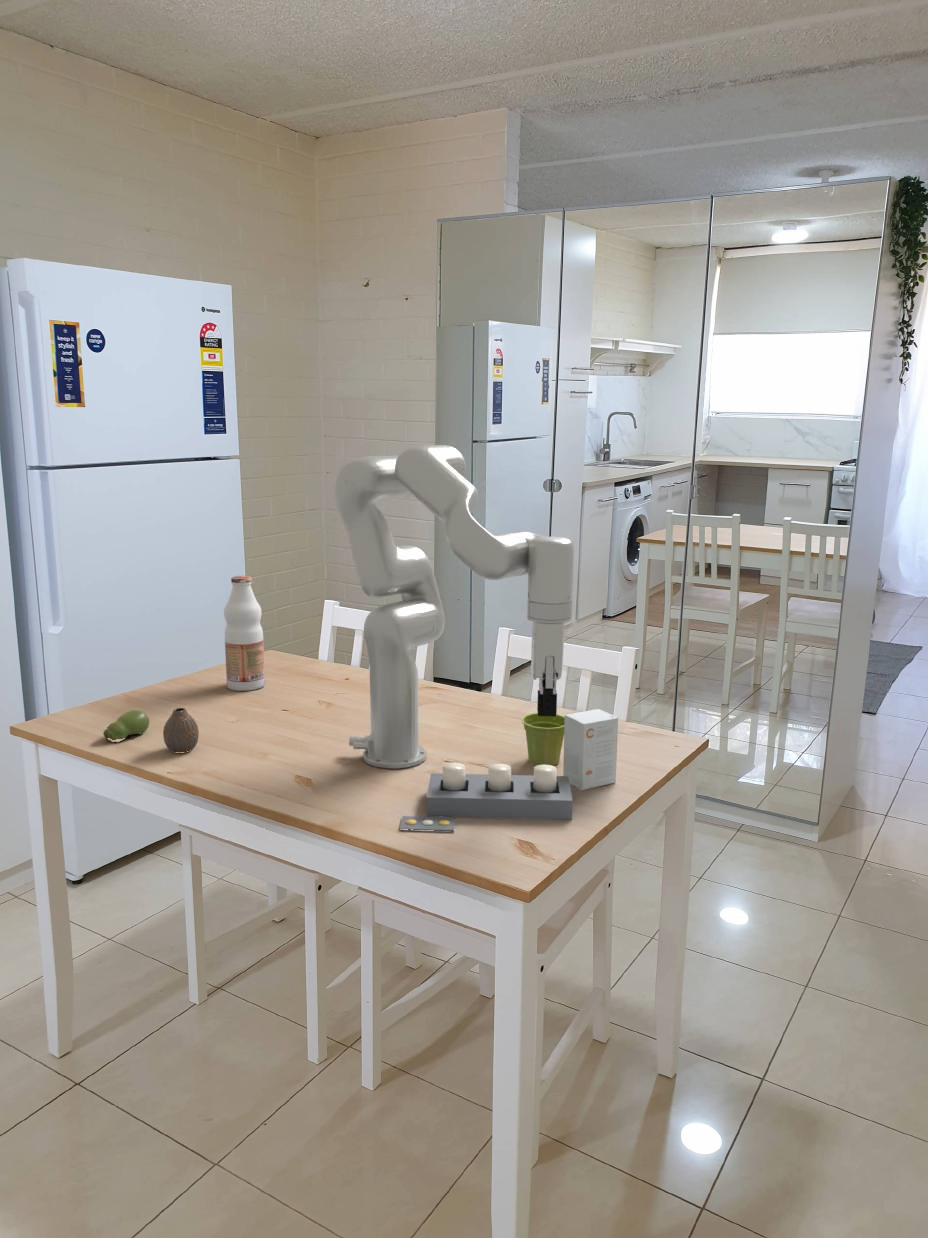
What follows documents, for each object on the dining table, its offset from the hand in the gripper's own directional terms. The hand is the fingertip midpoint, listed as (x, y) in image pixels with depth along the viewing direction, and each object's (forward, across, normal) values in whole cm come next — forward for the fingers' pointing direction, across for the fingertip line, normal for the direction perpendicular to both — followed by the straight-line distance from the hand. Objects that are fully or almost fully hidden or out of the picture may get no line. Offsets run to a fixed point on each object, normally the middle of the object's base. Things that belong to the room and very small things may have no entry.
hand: (546, 713), depth 163 cm
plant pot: (+17, -22, +1) cm, 28 cm away
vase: (+17, -24, -73) cm, 79 cm away
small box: (+17, -12, +9) cm, 23 cm away
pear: (+18, -31, -87) cm, 94 cm away
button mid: (+14, 0, -8) cm, 16 cm away
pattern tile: (+17, +9, -20) cm, 28 cm away
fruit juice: (+17, -70, -72) cm, 102 cm away
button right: (+14, 0, 0) cm, 14 cm away
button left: (+14, 0, -16) cm, 21 cm away
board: (+17, 0, -8) cm, 19 cm away
